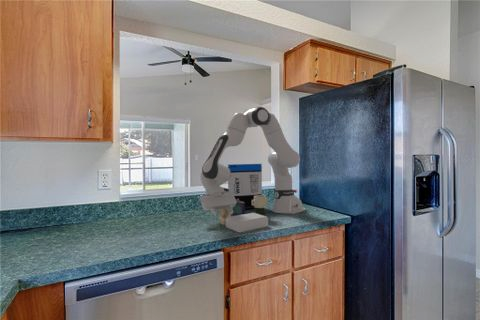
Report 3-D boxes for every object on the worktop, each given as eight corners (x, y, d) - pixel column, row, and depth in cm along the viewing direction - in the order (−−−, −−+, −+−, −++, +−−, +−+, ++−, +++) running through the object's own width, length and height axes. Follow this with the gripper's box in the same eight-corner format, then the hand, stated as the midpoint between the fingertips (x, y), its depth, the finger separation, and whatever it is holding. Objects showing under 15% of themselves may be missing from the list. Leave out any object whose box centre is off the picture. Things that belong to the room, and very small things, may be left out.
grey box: (253, 221, 148) (253, 212, 148) (268, 226, 138) (268, 216, 138) (225, 226, 138) (225, 217, 138) (239, 232, 128) (238, 222, 128)
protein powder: (264, 208, 182) (264, 164, 181) (230, 211, 174) (230, 164, 173) (259, 205, 191) (258, 163, 190) (226, 208, 183) (225, 164, 182)
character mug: (265, 216, 160) (265, 194, 160) (271, 218, 154) (271, 196, 153) (248, 218, 155) (248, 195, 155) (254, 221, 149) (254, 197, 149)
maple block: (225, 222, 147) (225, 207, 147) (229, 223, 144) (229, 208, 144) (219, 223, 145) (219, 208, 145) (223, 225, 142) (223, 209, 141)
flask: (229, 216, 160) (229, 198, 159) (231, 215, 162) (231, 197, 162) (244, 218, 156) (243, 199, 155) (246, 217, 158) (245, 199, 158)
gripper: (200, 191, 144) (209, 213, 137) (232, 188, 156) (242, 208, 148) (196, 199, 148) (205, 220, 140) (228, 195, 160) (237, 215, 152)
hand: (224, 214), depth 144 cm, fingers open, 8 cm apart
